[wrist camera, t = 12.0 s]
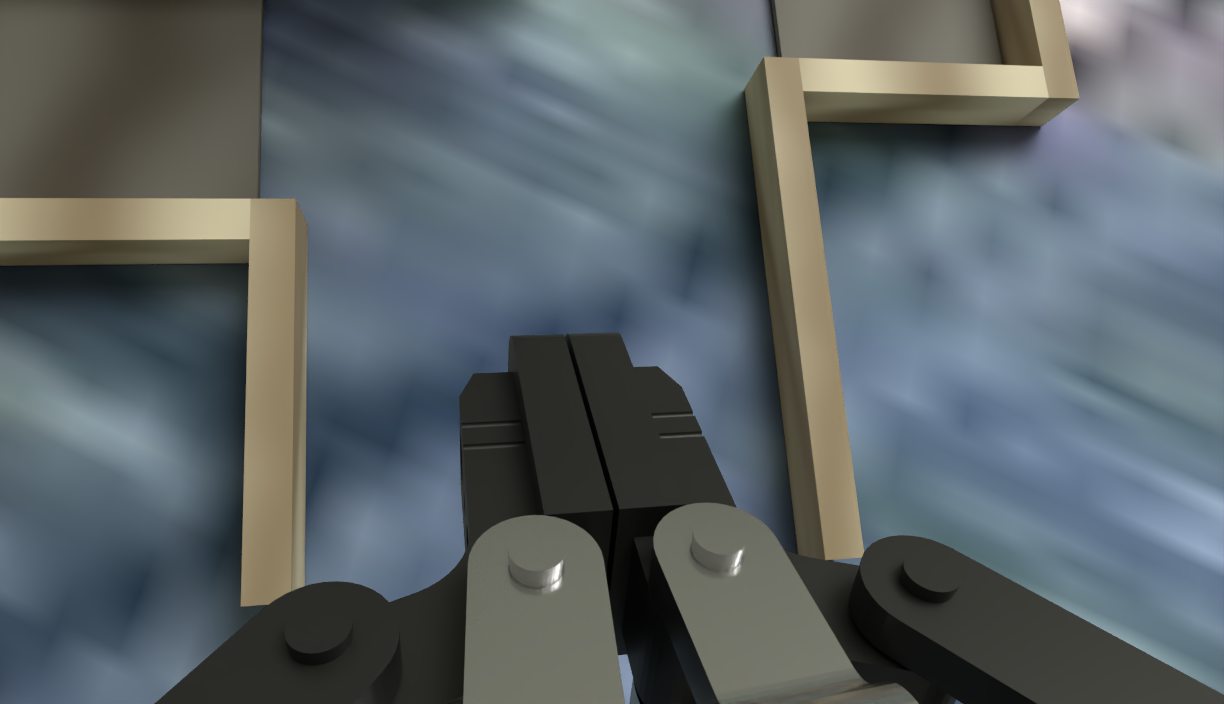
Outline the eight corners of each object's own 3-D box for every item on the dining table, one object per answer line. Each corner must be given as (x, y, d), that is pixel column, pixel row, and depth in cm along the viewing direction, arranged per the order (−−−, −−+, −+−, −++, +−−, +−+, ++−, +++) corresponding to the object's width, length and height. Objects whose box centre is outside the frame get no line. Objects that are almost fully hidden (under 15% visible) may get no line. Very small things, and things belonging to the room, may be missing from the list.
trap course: (-169, 636, 22) (-266, 648, 19) (-41, -392, 29) (-97, -497, 26) (1122, 534, 28) (1198, 532, 25) (962, -278, 36) (1006, -351, 33)
